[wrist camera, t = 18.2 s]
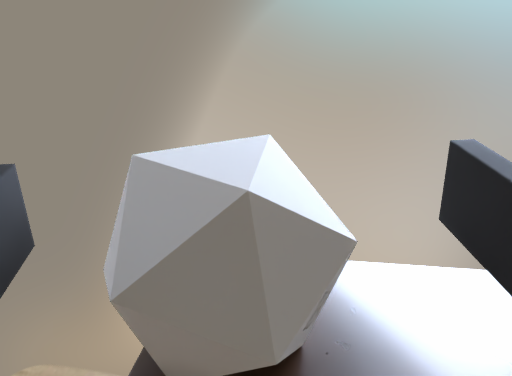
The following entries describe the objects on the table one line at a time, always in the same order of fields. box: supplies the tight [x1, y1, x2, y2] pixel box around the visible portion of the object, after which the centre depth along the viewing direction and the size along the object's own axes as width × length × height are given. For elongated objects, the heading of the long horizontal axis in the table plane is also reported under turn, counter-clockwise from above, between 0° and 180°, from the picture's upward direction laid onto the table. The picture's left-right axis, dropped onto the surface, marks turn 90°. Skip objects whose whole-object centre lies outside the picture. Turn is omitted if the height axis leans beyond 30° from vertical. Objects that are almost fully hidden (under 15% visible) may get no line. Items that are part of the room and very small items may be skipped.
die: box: [103, 135, 358, 376], centre depth 18 cm, size 8×9×10 cm
